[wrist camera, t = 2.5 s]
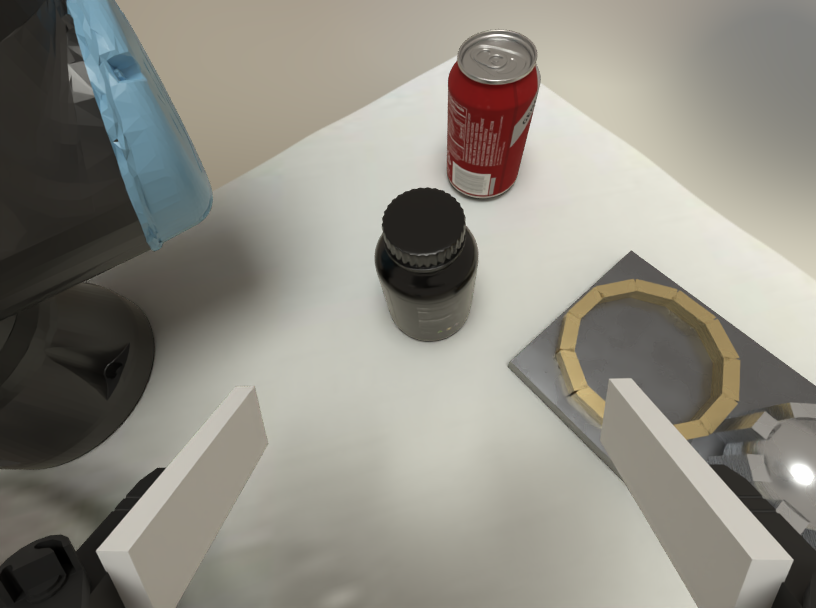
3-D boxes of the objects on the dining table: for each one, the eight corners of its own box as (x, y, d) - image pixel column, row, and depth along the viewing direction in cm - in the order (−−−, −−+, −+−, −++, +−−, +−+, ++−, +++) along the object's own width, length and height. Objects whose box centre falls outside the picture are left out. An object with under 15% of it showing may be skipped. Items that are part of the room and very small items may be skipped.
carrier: (507, 366, 30) (519, 346, 26) (623, 259, 33) (652, 225, 28) (755, 612, 23) (832, 646, 18) (875, 449, 26) (968, 443, 21)
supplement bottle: (482, 285, 33) (501, 191, 22) (452, 356, 31) (457, 290, 20) (409, 259, 35) (394, 160, 24) (376, 325, 32) (342, 249, 22)
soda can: (487, 214, 36) (507, 101, 25) (432, 179, 38) (428, 61, 27) (530, 170, 38) (566, 46, 27) (475, 139, 40) (487, 12, 29)
